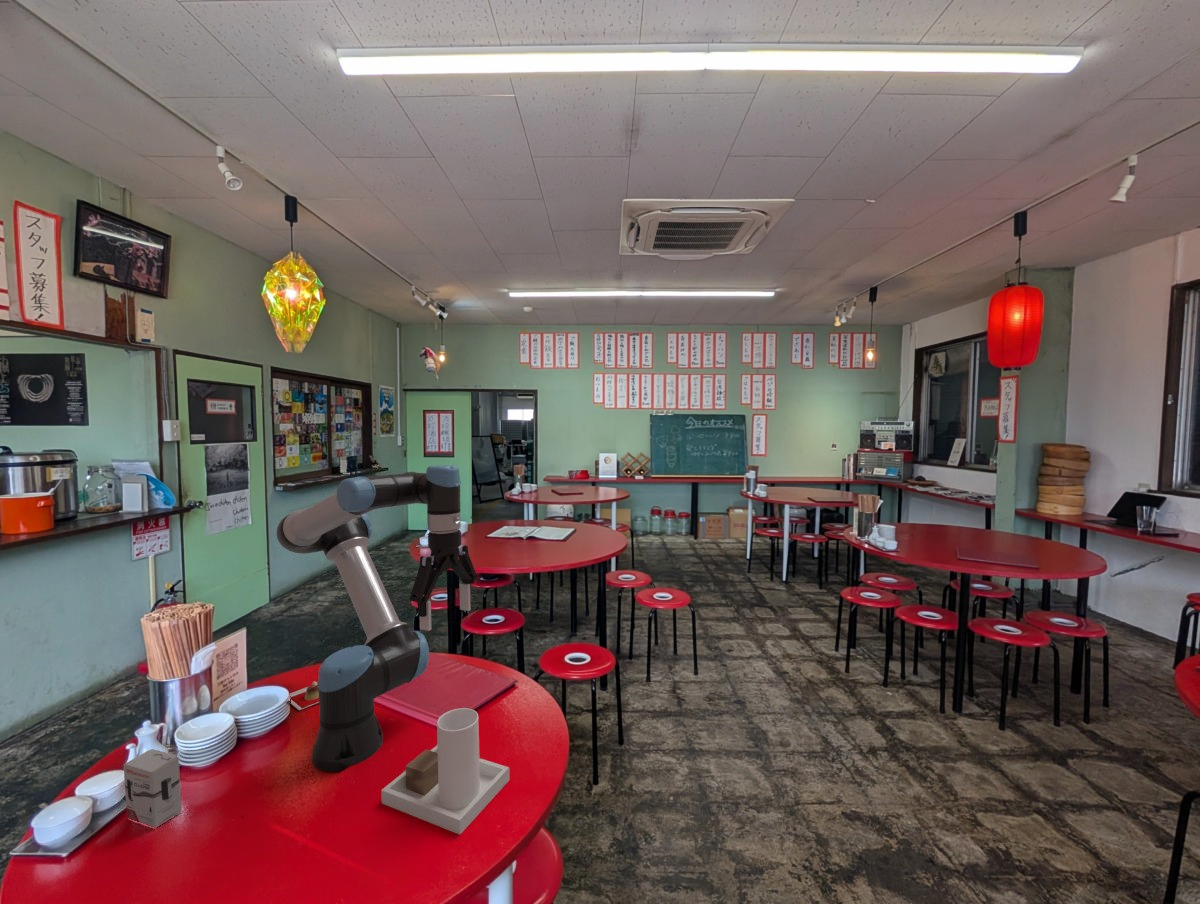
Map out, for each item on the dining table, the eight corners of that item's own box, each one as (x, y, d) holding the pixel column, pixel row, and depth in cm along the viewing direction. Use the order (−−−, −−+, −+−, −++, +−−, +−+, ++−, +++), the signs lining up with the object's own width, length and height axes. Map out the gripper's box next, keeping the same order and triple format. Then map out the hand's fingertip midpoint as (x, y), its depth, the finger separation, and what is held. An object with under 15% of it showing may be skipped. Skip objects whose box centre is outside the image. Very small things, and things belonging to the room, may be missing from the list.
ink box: (124, 821, 98) (122, 762, 97) (154, 803, 102) (151, 747, 102) (154, 831, 95) (151, 771, 95) (182, 812, 100) (180, 755, 99)
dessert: (299, 714, 136) (298, 697, 136) (282, 700, 144) (281, 683, 143) (343, 695, 145) (343, 679, 145) (326, 683, 153) (325, 668, 153)
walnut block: (406, 789, 104) (405, 765, 104) (426, 771, 110) (426, 749, 110) (424, 795, 102) (423, 772, 102) (444, 777, 108) (443, 755, 108)
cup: (448, 779, 107) (446, 707, 107) (485, 781, 106) (483, 708, 106) (431, 808, 99) (429, 729, 98) (471, 810, 98) (469, 731, 98)
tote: (381, 807, 101) (381, 790, 100) (437, 759, 115) (437, 744, 115) (460, 838, 92) (459, 820, 92) (509, 783, 107) (509, 767, 107)
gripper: (417, 542, 104) (419, 641, 105) (489, 522, 127) (491, 604, 128) (391, 539, 107) (393, 636, 108) (466, 521, 130) (468, 600, 131)
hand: (446, 619), depth 118 cm, fingers open, 13 cm apart
